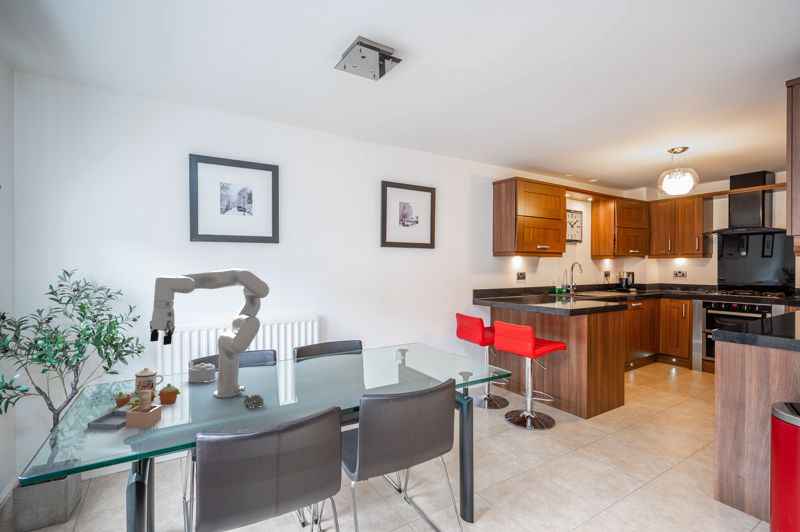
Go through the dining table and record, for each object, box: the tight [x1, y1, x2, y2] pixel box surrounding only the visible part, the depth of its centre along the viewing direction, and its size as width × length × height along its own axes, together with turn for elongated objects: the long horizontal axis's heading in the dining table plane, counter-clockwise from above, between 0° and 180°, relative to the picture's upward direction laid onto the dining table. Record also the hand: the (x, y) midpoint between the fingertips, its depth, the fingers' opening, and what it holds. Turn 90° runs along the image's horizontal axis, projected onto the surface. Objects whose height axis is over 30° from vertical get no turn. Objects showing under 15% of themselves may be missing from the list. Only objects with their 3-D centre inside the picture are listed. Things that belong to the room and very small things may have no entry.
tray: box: [87, 409, 129, 431], centre depth 152 cm, size 12×13×3 cm
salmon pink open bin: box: [125, 404, 163, 429], centre depth 152 cm, size 9×9×7 cm
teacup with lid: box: [134, 367, 164, 394], centre depth 191 cm, size 12×9×12 cm
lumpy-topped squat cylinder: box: [188, 362, 216, 383], centre depth 210 cm, size 10×13×9 cm
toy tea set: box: [113, 383, 181, 409], centre depth 174 cm, size 26×16×10 cm, turn 130°
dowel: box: [138, 390, 152, 412], centre depth 152 cm, size 4×4×13 cm
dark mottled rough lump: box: [243, 393, 264, 409], centre depth 179 cm, size 11×8×4 cm
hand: (160, 342), depth 166 cm, fingers open, 9 cm apart
